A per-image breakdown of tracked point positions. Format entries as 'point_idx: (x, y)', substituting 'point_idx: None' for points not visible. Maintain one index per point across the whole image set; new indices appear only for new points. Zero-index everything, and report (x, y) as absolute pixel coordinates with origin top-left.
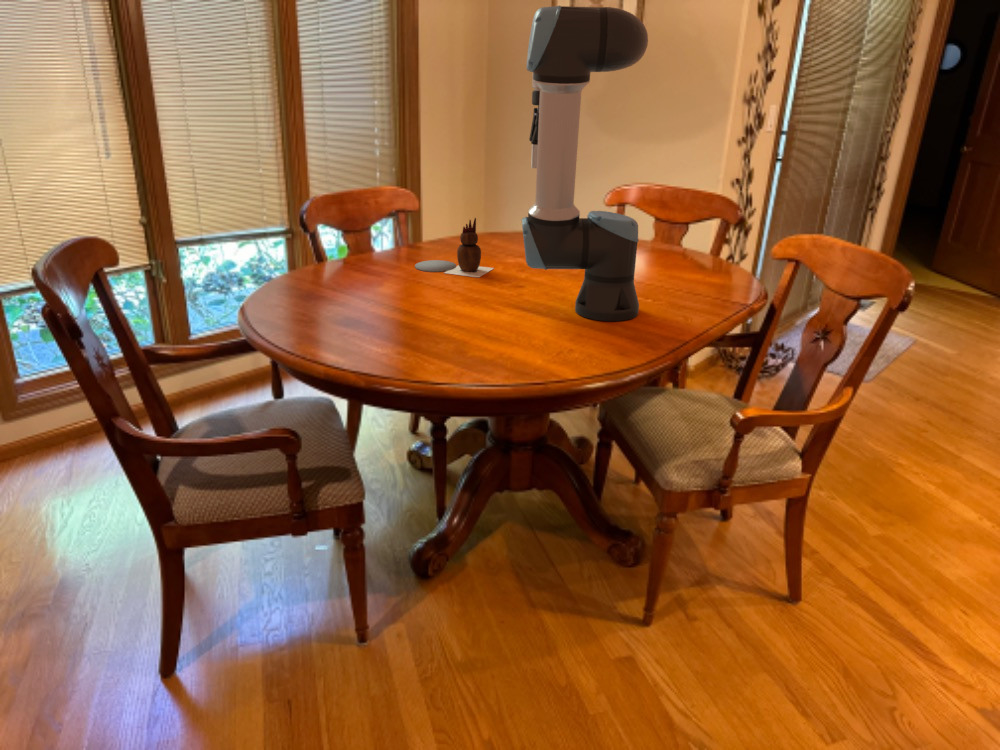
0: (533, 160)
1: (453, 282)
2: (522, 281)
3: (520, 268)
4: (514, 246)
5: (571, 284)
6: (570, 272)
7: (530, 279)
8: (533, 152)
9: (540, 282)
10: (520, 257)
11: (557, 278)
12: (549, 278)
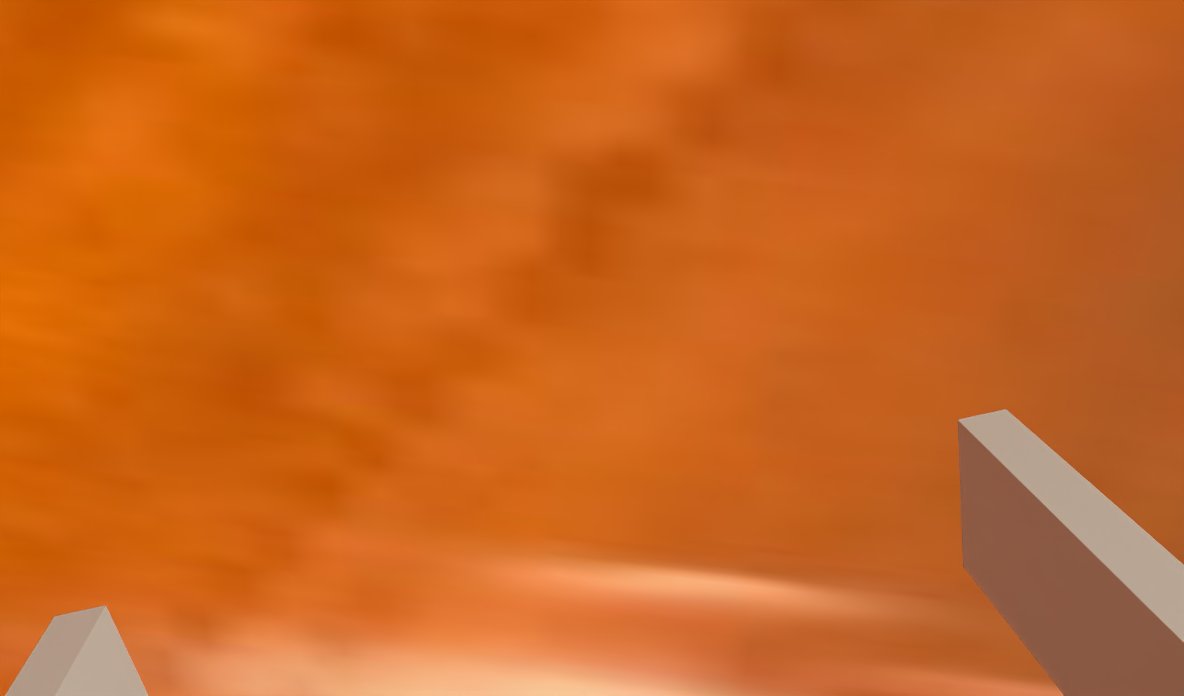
0: (1031, 519)
1: None
2: (29, 5)
3: (415, 27)
4: (1107, 44)
5: (13, 340)
6: (324, 368)
7: (98, 74)
8: (1137, 623)
9: (26, 139)
10: (752, 60)
11: (155, 268)
12: (147, 214)
